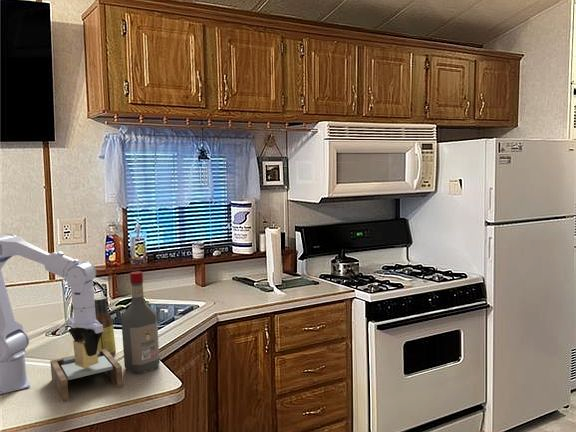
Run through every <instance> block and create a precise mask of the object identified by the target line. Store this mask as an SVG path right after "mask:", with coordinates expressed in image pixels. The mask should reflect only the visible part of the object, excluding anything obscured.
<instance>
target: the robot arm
mask: <svg viewBox="0 0 576 432" xmlns="http://www.w3.org/2000/svg"><path fill="white" fill-rule="evenodd" d="M14 256H15V257H16V256H19V257H22V258H25V259H28V260H30V261H33V262H36V263H39V264H41V265H43V266H44V269H45V271H47V272H49V273H51V274H54V275H56V276H57V277H61V278H63V279H64V280H66V282H67V284H68V285H69V287H70V291H71V300H72V301H71V302H72V314H73V316H72V317H68V318H67V321H68V322H67V323H68V326H70V328H68V332H69V334H70V335H71V337H72V338H73V341H75V340H78V339H81V338H84V341H85V344H86V348H87V353H88V356H93V355H96V353H97V348H98V343H99V340H100V337H101V335H102V333H103V325H102V324H100V323H99V322H98V321H97V320H96V316H95V301H94V298H95V289H94V280H95V278H96V277H97V269H96V267H95V265H94V264H93V263H91V262H90V261H88V260H87V261H86V260H85V261H80V260H79V259H78V258H75V259H74V258H73V257H69V256H67V255H65V252H63V251H54V252H51V253H50V252H48V251H46V250H44V249H42V248H40V247H38V246H36V245H34V244H33V243H30V242H28V241H26V240H24V239H23V238H22V237H21V236H18V235H15V234H13V233H6V234H3V235H0V395H3V394H7V393H11V392H16V391H20V390H24V389H29V388H30V387H31V385H30V381H29V379H28V377H27V376H28V375H27V365H26V354H25V353H26V349H27V347H28V346H29V344H30V337H29V335H28V333H26V331H25V329H24V326H23V324H21V323H19V322H17V321H16V319H15V316H14V313H13V308H12V305H11V300H10V298H9V294H8V290H7V286H6V284H5V283H6V282H5V280H4V276H3V272H2V268H3V267H4V265H5V264H6V263H7V261H8V260H9V259H11V258H12V257H14Z"/></svg>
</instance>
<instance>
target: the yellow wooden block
mask: <svg viewBox="0 0 576 432" xmlns="http://www.w3.org/2000/svg"><path fill="white" fill-rule="evenodd" d="M72 343H73V344H72V345H73V354H74V355H75V365H77V366H79V367H82V368H86V367H89V366H92V365H94V364H97V363H98V354H97V353H96V355H93V356H88V353H87V348H86V344H85V341H84V338H81V339H78V340H75V341H74V340H73V341H72ZM74 355H73V356H74Z"/></svg>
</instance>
